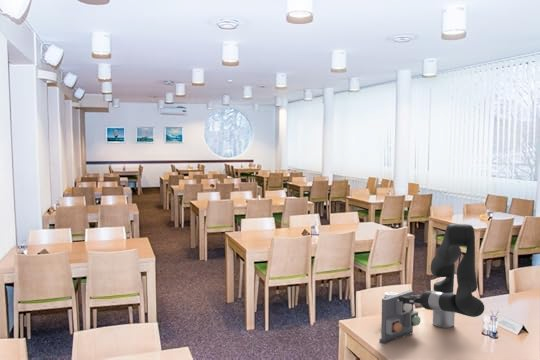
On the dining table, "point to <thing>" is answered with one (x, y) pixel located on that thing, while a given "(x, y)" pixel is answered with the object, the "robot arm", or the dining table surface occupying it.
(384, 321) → the button panel
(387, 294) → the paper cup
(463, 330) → the dining table surface
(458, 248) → the robot arm
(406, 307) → the cream button
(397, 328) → the terracotta button
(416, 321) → the sage button
